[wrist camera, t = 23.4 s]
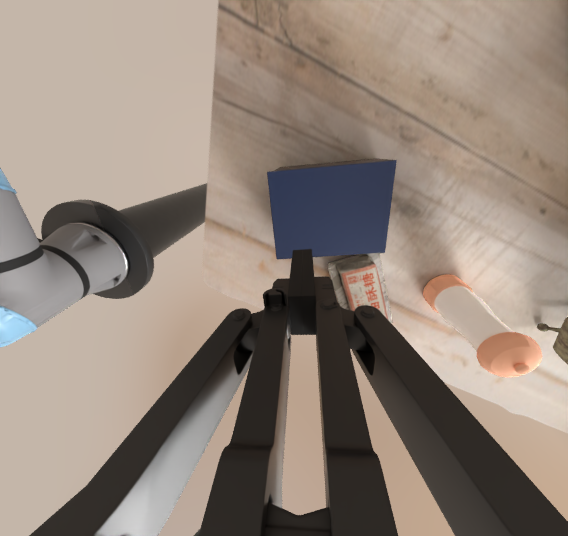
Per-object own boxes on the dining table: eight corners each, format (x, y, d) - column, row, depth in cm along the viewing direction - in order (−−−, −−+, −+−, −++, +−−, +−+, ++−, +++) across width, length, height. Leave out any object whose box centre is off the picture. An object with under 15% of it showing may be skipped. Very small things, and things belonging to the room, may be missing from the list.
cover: (277, 257, 36) (276, 259, 35) (267, 171, 30) (267, 171, 29) (383, 250, 34) (385, 252, 34) (394, 159, 29) (396, 160, 28)
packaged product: (328, 273, 40) (385, 258, 38) (325, 262, 45) (377, 247, 42) (350, 344, 48) (399, 335, 45) (346, 328, 52) (391, 319, 50)
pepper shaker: (434, 310, 48) (507, 397, 31) (415, 289, 46) (481, 369, 29) (469, 290, 45) (569, 374, 28) (450, 267, 43) (546, 341, 26)
